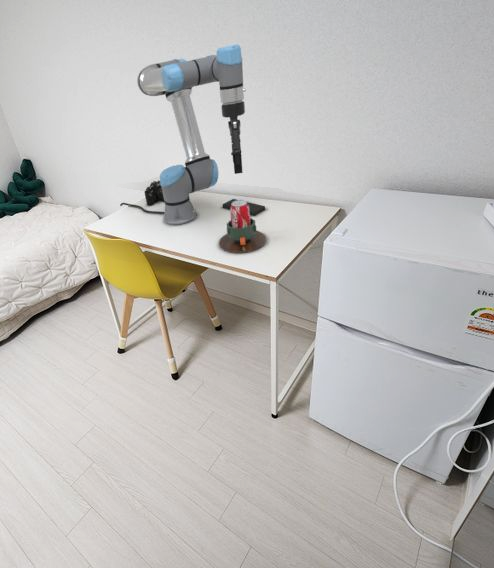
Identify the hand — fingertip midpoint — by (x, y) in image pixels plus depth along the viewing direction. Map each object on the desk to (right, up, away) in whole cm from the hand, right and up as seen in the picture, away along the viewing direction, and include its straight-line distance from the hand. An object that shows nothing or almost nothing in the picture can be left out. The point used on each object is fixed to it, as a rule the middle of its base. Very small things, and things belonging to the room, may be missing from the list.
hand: (237, 167), depth 126 cm
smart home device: (+8, -7, +36) cm, 38 cm away
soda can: (+3, -23, +8) cm, 24 cm away
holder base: (+3, -26, +10) cm, 28 cm away
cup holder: (+3, -24, +7) cm, 25 cm away
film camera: (-32, +3, +64) cm, 72 cm away
